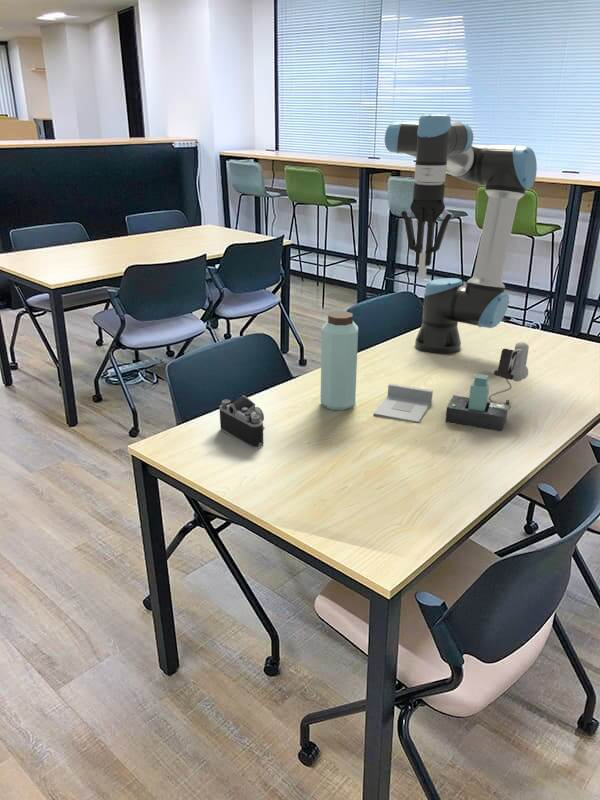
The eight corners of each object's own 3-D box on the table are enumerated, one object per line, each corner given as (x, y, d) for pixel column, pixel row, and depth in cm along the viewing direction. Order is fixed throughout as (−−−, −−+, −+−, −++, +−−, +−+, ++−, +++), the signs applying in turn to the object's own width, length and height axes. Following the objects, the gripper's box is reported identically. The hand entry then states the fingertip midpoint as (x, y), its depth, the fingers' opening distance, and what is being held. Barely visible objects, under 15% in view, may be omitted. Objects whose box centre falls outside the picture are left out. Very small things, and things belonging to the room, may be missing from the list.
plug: (469, 415, 163) (474, 372, 158) (485, 418, 162) (490, 374, 157) (466, 421, 160) (471, 378, 155) (482, 424, 158) (488, 380, 154)
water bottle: (313, 407, 169) (314, 317, 159) (329, 393, 177) (331, 307, 167) (347, 414, 165) (350, 322, 154) (362, 400, 173) (366, 312, 162)
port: (451, 410, 167) (453, 394, 165) (509, 420, 162) (511, 403, 160) (445, 423, 160) (446, 406, 158) (504, 434, 155) (507, 416, 153)
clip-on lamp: (504, 418, 163) (514, 352, 155) (482, 411, 167) (491, 346, 159) (526, 404, 170) (536, 341, 163) (504, 397, 174) (513, 335, 167)
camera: (282, 439, 153) (281, 402, 148) (255, 451, 147) (253, 412, 143) (243, 418, 163) (242, 382, 159) (216, 428, 158) (214, 391, 154)
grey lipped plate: (388, 395, 176) (389, 383, 175) (431, 402, 172) (432, 390, 170) (373, 415, 164) (374, 402, 163) (418, 423, 160) (420, 411, 159)
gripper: (399, 183, 155) (393, 278, 165) (453, 185, 150) (443, 283, 160) (407, 180, 161) (401, 272, 171) (459, 182, 157) (449, 276, 166)
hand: (421, 277), depth 166 cm, fingers closed
